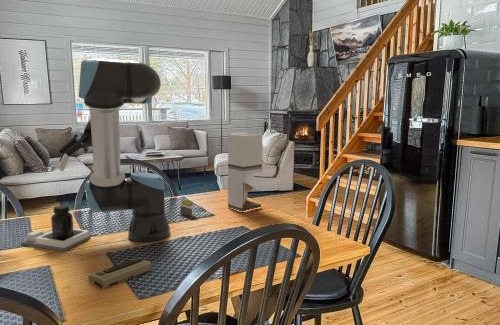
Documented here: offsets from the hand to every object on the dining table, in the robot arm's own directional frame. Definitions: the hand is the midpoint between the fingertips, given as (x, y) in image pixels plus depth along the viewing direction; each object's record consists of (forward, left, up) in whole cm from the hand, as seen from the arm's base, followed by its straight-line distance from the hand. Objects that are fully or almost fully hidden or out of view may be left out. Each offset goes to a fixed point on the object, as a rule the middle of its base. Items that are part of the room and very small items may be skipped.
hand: (77, 170), depth 143 cm
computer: (-37, +26, -25) cm, 51 cm away
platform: (-28, -34, -25) cm, 50 cm away
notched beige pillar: (-48, -52, -24) cm, 75 cm away
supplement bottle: (-2, +11, -23) cm, 26 cm away
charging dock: (+1, +11, -24) cm, 26 cm away
